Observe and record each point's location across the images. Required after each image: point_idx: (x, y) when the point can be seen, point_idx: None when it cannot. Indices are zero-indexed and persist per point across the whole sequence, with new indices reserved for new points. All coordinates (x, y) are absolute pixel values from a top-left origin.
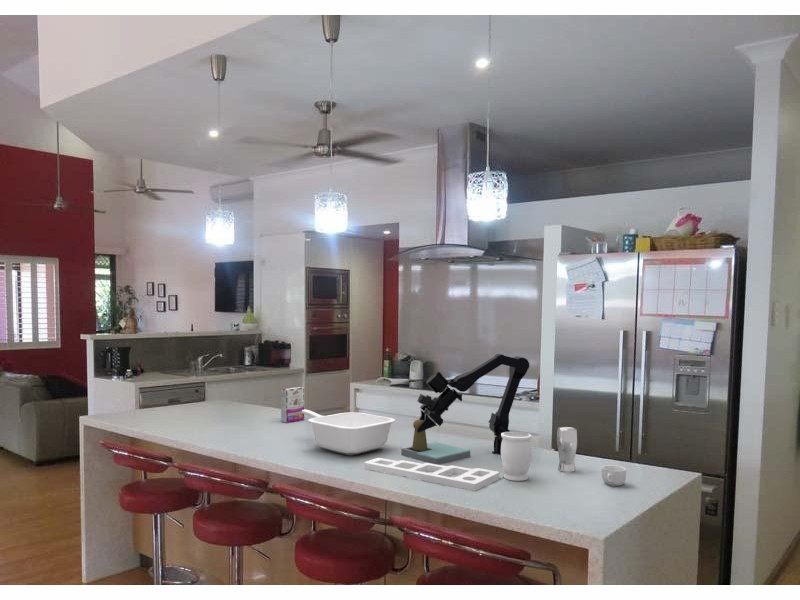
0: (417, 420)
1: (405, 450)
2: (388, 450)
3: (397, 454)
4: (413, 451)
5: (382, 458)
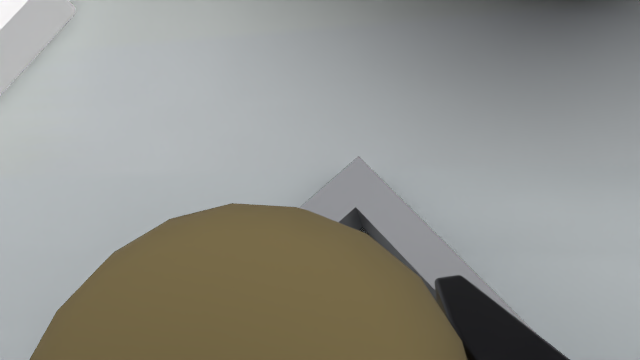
0: (165, 328)
1: (304, 207)
2: (568, 48)
3: (393, 143)
4: None
5: (13, 10)
